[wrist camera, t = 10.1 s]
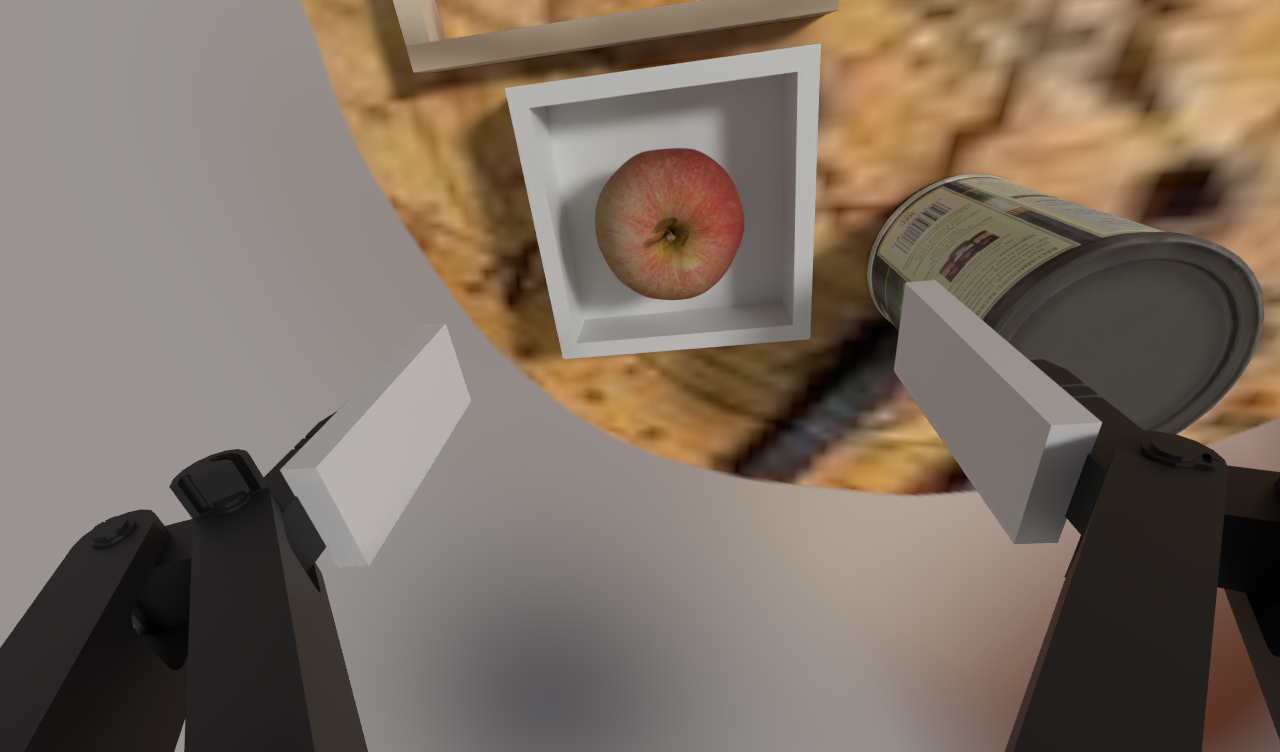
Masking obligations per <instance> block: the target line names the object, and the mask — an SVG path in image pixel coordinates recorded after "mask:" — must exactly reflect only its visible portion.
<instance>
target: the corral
mask: <svg viewBox="0 0 1280 752" xmlns="http://www.w3.org/2000/svg"><path fill="white" fill-rule="evenodd" d="M838 2H839V0H700V1H694V2H687V3H681V4H674V5H668V6H661V7H655V8H648V9H642V10H635V11H629V12H622V13H616V14H609V15H603V16H596V17H590V18H583V19H577V20H570V21H564V22H557V23H551V24H544V25H538V26H531V27H525V28H518V29H512V30H505V31H499V32H492V33H486V34H479V35H473V36H466V37H460V38H453V39H447V40H445V36H444V32H443V28H442V25H441V21H440V17H439V13H438V9H437V5H436V1H435V0H393V3H394V6H395V10H396V13H397V17H398V20H399V24H400V27H401V31H402V34H403V38H404V41H405V45H406V48H407V52H408V55H409V59H410V62H411V66H412V69H413V73H433V72H440V71H447V70H454V69H460V68H467V67H474V66H481V65H488V64H495V63H501V62H508V61H515V60H522V59H529V58H535V57H542V56H549V55H556V54H563V53H569V52H576V51H583V50H590V49H597V48H603V47H610V46H617V45H624V44H631V43H637V42H644V41H651V40H658V39H665V38H671V37H678V36H685V35H692V34H699V33H705V32H712V31H719V30H726V29H733V28H740V27H746V26H753V25H760V24H767V23H774V22H780V21H787V20H794V19H801V18H808V17H814V16H821V15H826V14H829V13H832V12H834V11H837V10H838Z"/></svg>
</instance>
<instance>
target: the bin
mask: <svg viewBox="0 0 1280 752" xmlns="http://www.w3.org/2000/svg"><path fill="white" fill-rule="evenodd" d="M820 50H821V44H814V45H807V46H800V47H793V48H786V49H779V50H772V51H765V52H757V53H750V54H743V55H736V56H729V57H722V58H715V59H708V60H701V61H694V62H687V63H680V64H672V65H665V66H658V67H651V68H644V69H637V70H630V71H623V72H616V73H609V74H602V75H595V76H587V77H580V78H573V79H566V80H559V81H552V82H545V83H538V84H531V85H524V86H517V87H510V88H505V91H506V96H507V100H508V105H509V110H510V114H511V119H512V124H513V128H514V133H515V138H516V142H517V147H518V152H519V156H520V161H521V166H522V170H523V175H524V179H525V184H526V189H527V193H528V198H529V203H530V207H531V212H532V217H533V221H534V226H535V231H536V235H537V240H538V245H539V249H540V254H541V258H542V263H543V268H544V272H545V277H546V282H547V286H548V291H549V296H550V300H551V305H552V310H553V314H554V319H555V324H556V328H557V333H558V337H559V342H560V347H561V351H562V356H563V359H572V358H584V357H596V356H609V355H621V354H634V353H646V352H658V351H671V350H683V349H696V348H708V347H720V346H733V345H745V344H758V343H770V342H782V341H795V340H807V339H810V331H811V303H812V275H813V247H814V219H815V191H816V162H817V134H818V106H819V78H820ZM670 148H688V149H694V150H697V151H700V152H702V153H704V154H706V155H708V156H709V157H711V158H712V159H714V160H715V161H716V162H717V163H718V164H719V165H721V166H722V167H723V169H724V170H725V171H726V172H727V173H728V175H729V176H730V177H731V179H732V181H733V182H734V184H735V186H736V189H737V192H738V195H739V199H740V202H741V205H742V209H743V214H744V233H743V237H742V240H741V243H740V246H739V248H738V250H737V253H736V255H735V257H734V259H733V261H732V263H731V265H730V267H729V269H728V270H727V272H726V273H725V275H724V276H723V277H722V278H721V279H720V281H719V282H717V283H716V284H715V285H714V286H713V287H712V288H710V289H709V290H708V291H706V292H705V293H703V294H701V295H699V296H696V297H693V298H690V299H684V300H660V299H652V298H648V297H645V296H643V295H640V294H638V293H636V292H635V291H633V290H632V289H630V288H629V287H627V286H626V285H624V284H623V283H622V282H621V281H620V280H619V279H618V278H617V277H616V276H615V275H614V273H613V272H612V270H611V269H610V267H609V266H608V264H607V262H606V261H605V259H604V257H603V255H602V253H601V251H600V248H599V245H598V241H597V237H596V230H595V211H596V205H597V201H598V198H599V195H600V193H601V191H602V189H603V187H604V185H605V184H606V182H607V181H608V180H609V179H610V177H611V176H612V175H613V174H614V173H615V172H616V171H617V170H618V169H619V168H620V167H621V166H622V165H623V164H624V163H625V162H626V161H628V160H629V159H630V158H632V157H633V156H635V155H637V154H639V153H641V152H645V151H650V150H658V149H670Z"/></svg>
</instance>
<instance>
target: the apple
mask: <svg viewBox="0 0 1280 752" xmlns="http://www.w3.org/2000/svg"><path fill="white" fill-rule="evenodd" d="M595 230H596V237H597V241H598V245H599V248H600V251H601V253H602V255H603V257H604V259H605V261H606V262H607V264H608V266H609V267H610V269H611V270H612V272H613V273H614V275H615V276H616V277H617V278H618V279H619V280H620V281H621V282H622V283H623V284H624V285H626V286H627V287H629V288H630V289H632V290H633V291H635V292H636V293H638V294H640V295H643V296H645V297H648V298H652V299H660V300H684V299H690V298H693V297H696V296H699V295H701V294H703V293H705V292H706V291H708V290H709V289H710V288H712V287H713V286H714V285H715V284H716V283H717V282H719V281H720V279H721V278H722V277H723V276H724V275H725V273H726V272H727V270H728V269H729V267H730V265H731V263H732V261H733V259H734V257H735V255H736V253H737V250H738V248H739V246H740V243H741V240H742V237H743V233H744V214H743V209H742V205H741V202H740V199H739V195H738V192H737V189H736V186H735V184H734V182H733V181H732V179H731V177H730V176H729V175H728V173H727V172H726V171H725V170H724V169H723V167H722V166H721V165H719V164H718V163H717V162H716V161H715V160H714V159H712V158H711V157H709V156H708V155H706V154H704V153H702V152H700V151H697V150H694V149H688V148H670V149H658V150H650V151H645V152H641V153H639V154H637V155H635V156H633V157H632V158H630V159H629V160H628V161H626V162H625V163H624V164H623V165H622V166H621V167H620V168H619V169H618V170H617V171H616V172H615V173H614V174H613V175H612V176H611V177H610V179H609V180H608V181H607V182H606V184H605V185H604V187H603V189H602V191H601V193H600V195H599V198H598V201H597V205H596V211H595Z"/></svg>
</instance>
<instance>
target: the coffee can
mask: <svg viewBox="0 0 1280 752" xmlns="http://www.w3.org/2000/svg"><path fill="white" fill-rule="evenodd" d="M867 280H868V286H869V291H870V294H871V297H872V300H873V302H874V304H875V306H876V307H877V309H878V310H879V312H880V313H881V314H882V315H883V316H884V317H885V318H886V319H887V320H888V321H890V322H891V323H892V324H893V325H894V326H895V328H896V329H897V330H898V331H899V328H900V320H901V312H902V304H903V297H904V289H905V283H907V282H919V281H930V280H936V281H937V282H938V283H939V284H940V285H942V286H943V287H944V288H945V289H946V290H947V291H949V292H950V293H951V294H952V295H953V296H954V297H956V298H957V299H958V300H959V301H960V302H961V303H963V304H964V305H965V306H966V307H967V308H969V309H970V310H971V311H972V312H973V313H974V314H976V315H977V316H978V317H979V318H980V319H981V320H983V321H984V322H985V323H986V324H987V325H988V326H990V327H991V328H992V329H993V330H994V331H996V332H997V333H998V334H999V335H1000V336H1001V337H1003V338H1004V339H1005V340H1006V341H1007V342H1008V343H1010V344H1011V345H1012V346H1013V347H1014V348H1015V349H1017V350H1018V351H1019V352H1020V353H1021V354H1023V355H1024V356H1025V357H1026V358H1027V359H1028V360H1037V359H1044V360H1046V361H1048V362H1051V363H1053V364H1055V365H1057V366H1060V367H1062V368H1064V369H1067V370H1068V371H1070V372H1071V373H1072V374H1073V375H1075V376H1076V377H1077V378H1078V379H1080V380H1081V381H1082V382H1083V383H1085V384H1084V385H1085V386H1088V387H1090V388H1091V389H1092V390H1094V391H1095V392H1096V393H1097V394H1098V396H1099V397H1102V398H1104V399H1105V400H1106V401H1107V402H1109V403H1110V404H1111V405H1112V406H1114V407H1115V408H1116V409H1117V410H1119V411H1120V412H1121V413H1123V414H1124V415H1125V416H1126V417H1128V418H1129V419H1130V420H1131V421H1133V422H1134V423H1135V424H1136V425H1138V426H1139V427H1140V428H1141V429H1143V430H1144V431H1159V432H1165V433H1171V434H1177V433H1179V432H1181V431H1182V430H1184V429H1186V428H1187V427H1188V426H1190V425H1191V424H1193V423H1194V422H1195V421H1197V420H1198V419H1199V418H1200V417H1202V416H1203V415H1204V414H1205V413H1207V412H1208V411H1209V410H1210V409H1211V408H1213V407H1214V406H1215V405H1216V403H1217V402H1218V401H1219V400H1221V399H1222V398H1223V396H1224V395H1225V394H1226V393H1227V392H1228V391H1229V390H1230V389H1231V388H1232V387H1233V385H1234V384H1235V383H1236V381H1237V380H1238V379H1239V377H1240V376H1241V375H1242V373H1243V372H1244V370H1245V368H1246V367H1247V365H1248V364H1249V362H1250V360H1251V358H1252V356H1253V354H1254V352H1255V349H1256V347H1257V345H1258V342H1259V339H1260V336H1261V332H1262V327H1263V321H1264V301H1263V296H1262V290H1261V287H1260V285H1259V283H1258V281H1257V279H1256V277H1255V275H1254V273H1253V272H1252V270H1251V269H1250V268H1249V266H1248V265H1247V264H1246V263H1245V262H1244V261H1243V260H1242V259H1241V258H1240V257H1239V256H1237V255H1236V254H1234V253H1233V252H1231V251H1230V250H1228V249H1226V248H1225V247H1223V246H1221V245H1218V244H1215V243H1213V242H1210V241H1208V240H1204V239H1201V238H1197V237H1194V236H1190V235H1185V234H1180V233H1171V232H1164V231H1161V230H1158V229H1155V228H1152V227H1148V226H1145V225H1142V224H1139V223H1136V222H1133V221H1129V220H1126V219H1123V218H1120V217H1117V216H1114V215H1111V214H1107V213H1104V212H1101V211H1098V210H1095V209H1092V208H1089V207H1085V206H1082V205H1079V204H1076V203H1073V202H1070V201H1067V200H1063V199H1060V198H1057V197H1054V196H1051V195H1048V194H1045V193H1042V192H1039V191H1035V190H1032V189H1029V188H1026V187H1023V186H1020V185H1017V184H1014V183H1013V182H1011V181H1008V180H1006V179H1003V178H1000V177H997V176H993V175H989V174H967V175H959V176H955V177H950V178H947V179H944V180H941V181H939V182H936V183H934V184H932V185H930V186H928V187H926V188H924V189H922V190H920V191H918V192H917V193H916V194H914V195H913V196H912V197H910V198H909V199H908V200H907V201H906V202H904V203H903V204H902V205H901V206H900V207H899V208H898V209H897V210H896V211H895V212H894V213H893V214H892V215H891V216H890V218H889V219H888V220H887V222H886V223H885V224H884V226H883V227H882V229H881V231H880V232H879V234H878V236H877V238H876V240H875V242H874V244H873V246H872V249H871V253H870V258H869V262H868V271H867Z"/></svg>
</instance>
